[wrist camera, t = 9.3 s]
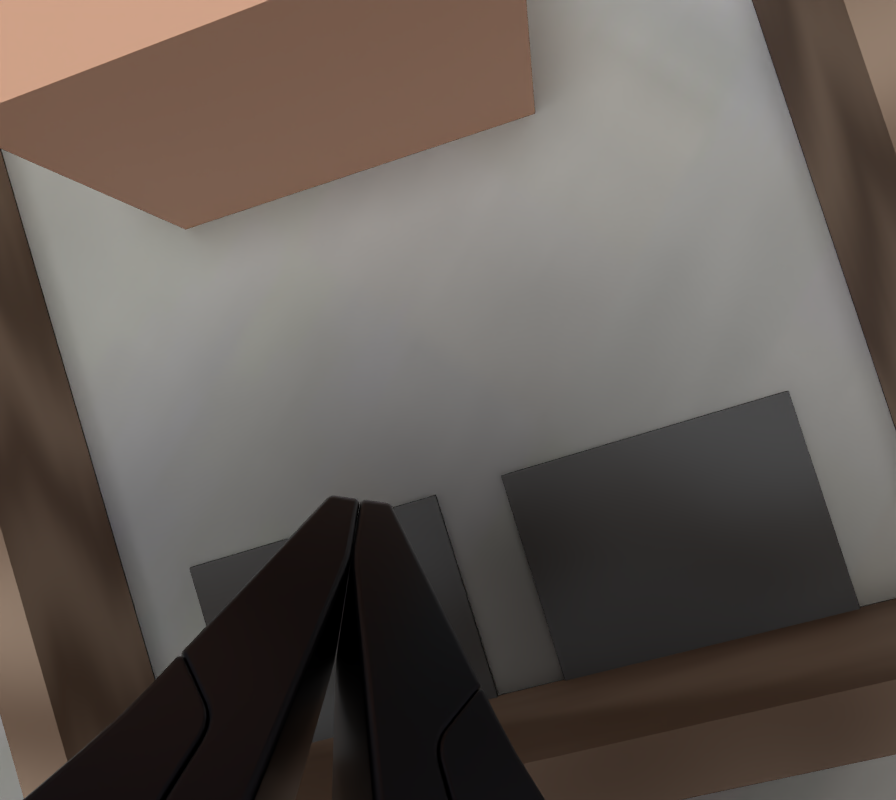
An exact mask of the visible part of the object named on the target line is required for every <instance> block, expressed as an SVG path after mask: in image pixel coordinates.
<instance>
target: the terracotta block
mask: <svg viewBox="0 0 896 800" xmlns="http://www.w3.org/2000/svg"><path fill="white" fill-rule="evenodd" d="M532 114H535V107H534V94H533V81H532V68H531V55H530V42H529V30H528V17H527V4H526V0H0V148H1V149H3V150H5V151H8V152H10V153H12V154H15V155H17V156H19V157H21V158H24V159H26V160H28V161H31V162H33V163H35V164H37V165H40V166H42V167H44V168H47V169H49V170H51V171H53V172H56V173H58V174H60V175H63V176H65V177H67V178H69V179H72V180H74V181H76V182H79V183H81V184H83V185H85V186H88V187H90V188H92V189H95V190H97V191H99V192H101V193H104V194H106V195H108V196H111V197H113V198H115V199H117V200H120V201H122V202H124V203H127V204H129V205H131V206H133V207H136V208H138V209H140V210H143V211H145V212H147V213H149V214H152V215H154V216H156V217H159V218H161V219H163V220H165V221H168V222H170V223H172V224H175V225H177V226H179V227H181V228H184V229H188V228H191V227H194V226H197V225H200V224H203V223H206V222H209V221H212V220H215V219H218V218H221V217H224V216H227V215H230V214H233V213H237V212H240V211H243V210H246V209H249V208H252V207H255V206H258V205H261V204H264V203H267V202H270V201H273V200H276V199H279V198H282V197H285V196H288V195H291V194H294V193H297V192H300V191H303V190H306V189H309V188H312V187H315V186H318V185H321V184H324V183H327V182H330V181H333V180H336V179H339V178H342V177H345V176H348V175H351V174H354V173H357V172H360V171H363V170H366V169H369V168H372V167H375V166H378V165H381V164H384V163H387V162H390V161H393V160H396V159H399V158H402V157H405V156H408V155H411V154H414V153H417V152H420V151H423V150H426V149H429V148H432V147H435V146H438V145H441V144H444V143H447V142H450V141H453V140H457V139H460V138H463V137H466V136H469V135H472V134H475V133H478V132H481V131H484V130H487V129H490V128H493V127H496V126H499V125H502V124H505V123H508V122H511V121H514V120H517V119H520V118H523V117H526V116H529V115H532Z"/></svg>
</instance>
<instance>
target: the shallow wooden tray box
mask: <svg viewBox="0 0 896 800" xmlns="http://www.w3.org/2000/svg"><path fill="white" fill-rule="evenodd" d="M752 1H753V4H754V7H755V10H756V13H757V16H758V19H759V22H760V25H761V28H762V31H763V34H764V37H765V40H766V42H767V45H768V48H769V51H770V54H771V57H772V60H773V63H774V66H775V69H776V72H777V75H778V78H779V81H780V84H781V87H782V90H783V93H784V96H785V99H786V102H787V105H788V108H789V111H790V114H791V117H792V120H793V123H794V126H795V129H796V132H797V135H798V138H799V141H800V144H801V147H802V150H803V153H804V156H805V159H806V162H807V165H808V168H809V171H810V174H811V177H812V180H813V183H814V186H815V189H816V192H817V195H818V198H819V201H820V204H821V207H822V210H823V213H824V216H825V219H826V222H827V225H828V228H829V231H830V234H831V237H832V240H833V243H834V246H835V249H836V252H837V254H838V257H839V260H840V263H841V266H842V269H843V272H844V275H845V278H846V281H847V284H848V287H849V290H850V293H851V296H852V299H853V302H854V305H855V308H856V311H857V314H858V317H859V320H860V323H861V326H862V329H863V332H864V335H865V338H866V341H867V344H868V347H869V350H870V353H871V356H872V359H873V362H874V365H875V368H876V371H877V374H878V377H879V380H880V383H881V386H882V389H883V392H884V395H885V398H886V401H887V404H888V407H889V410H890V413H891V416H892V419H893V422H894V425H895V428H896V0H752ZM501 477H502V480H503V483H504V486H505V489H506V493H507V496H508V499H509V502H510V505H511V509H512V512H513V515H514V518H515V521H516V525H517V528H518V531H519V534H520V537H521V541H522V544H523V547H524V550H525V553H526V557H527V560H528V563H529V566H530V569H531V572H532V576H533V579H534V582H535V585H536V588H537V592H538V595H539V598H540V601H541V604H542V608H543V611H544V614H545V617H546V620H547V624H548V627H549V630H550V633H551V636H552V640H553V643H554V646H555V649H556V652H557V656H558V659H559V662H560V665H561V668H562V671H563V675H564V678H565V680H561V681H557V682H553V683H548V684H544V685H540V686H536V687H532V688H528V689H524V690H520V691H516V692H512V693H507V694H503V695H499V696H498V695H497V692H496V689H495V685H494V682H493V679H492V676H491V672H490V669H489V666H488V663H487V659H486V656H485V653H484V650H483V646H482V643H481V640H480V637H479V634H478V630H477V627H476V624H475V621H474V617H473V614H472V611H471V608H470V604H469V601H468V598H467V595H466V592H465V588H464V585H463V582H462V579H461V575H460V572H459V569H458V566H457V562H456V559H455V556H454V553H453V550H452V546H451V543H450V540H449V537H448V533H447V530H446V527H445V524H444V520H443V517H442V514H441V511H440V507H439V504H438V501H437V498H436V495H434V496H431V497H427V498H424V499H420V500H417V501H414V502H410V503H407V504H404V505H400V506H397V507H393V510H394V512H395V514H396V516H397V518H398V520H399V522H400V524H401V526H402V528H403V530H404V532H405V534H406V536H407V538H408V540H409V542H410V544H411V546H412V548H413V550H414V552H415V554H416V556H417V558H418V560H419V562H420V564H421V566H422V568H423V570H424V572H425V574H426V576H427V578H428V580H429V582H430V584H431V586H432V588H433V590H434V592H435V594H436V596H437V598H438V600H439V602H440V604H441V606H442V608H443V610H444V612H445V614H446V616H447V618H448V620H449V622H450V624H451V626H452V628H453V630H454V632H455V634H456V636H457V638H458V640H459V642H460V644H461V646H462V648H463V650H464V652H465V654H466V656H467V658H468V660H469V662H470V664H471V666H472V668H473V670H474V672H475V674H476V677H477V679H478V681H479V683H480V685H481V688H480V690H483V691H484V692H485V694H486V696H487V698H488V700H489V702H490V704H491V706H492V708H493V710H494V712H495V714H496V716H497V718H498V720H499V722H500V724H501V726H502V727H503V729H504V731H505V733H506V735H507V737H508V739H509V740H510V742H511V744H512V746H513V748H514V750H515V752H516V753H517V755H518V757H519V758H520V760H521V762H522V763H523V765H524V766H525V768H526V770H527V771H528V773H529V774H530V776H531V778H532V779H533V781H534V783H535V784H536V786H537V787H538V789H539V791H540V792H541V794H542V795H543V797H544V799H545V800H682V799H686V798H691V797H696V796H701V795H705V794H710V793H715V792H720V791H724V790H729V789H734V788H739V787H743V786H748V785H753V784H757V783H762V782H767V781H772V780H776V779H781V778H786V777H791V776H795V775H800V774H805V773H810V772H814V771H819V770H824V769H829V768H833V767H838V766H843V765H848V764H852V763H857V762H862V761H866V760H871V759H876V758H881V757H885V756H890V755H895V754H896V599H892V600H888V601H884V602H880V603H876V604H872V605H868V606H864V607H860V606H859V603H858V600H857V597H856V594H855V591H854V588H853V585H852V582H851V579H850V576H849V573H848V570H847V567H846V564H845V561H844V558H843V555H842V552H841V549H840V546H839V543H838V540H837V537H836V534H835V531H834V528H833V524H832V521H831V518H830V515H829V512H828V509H827V506H826V503H825V500H824V497H823V494H822V491H821V488H820V485H819V482H818V479H817V476H816V473H815V470H814V467H813V464H812V461H811V458H810V455H809V452H808V449H807V446H806V443H805V440H804V437H803V434H802V431H801V427H800V424H799V421H798V418H797V415H796V412H795V409H794V406H793V403H792V400H791V397H790V394H789V391H786V392H782V393H779V394H775V395H772V396H769V397H765V398H762V399H759V400H755V401H752V402H748V403H745V404H742V405H738V406H735V407H732V408H728V409H725V410H721V411H718V412H715V413H711V414H708V415H704V416H701V417H698V418H694V419H691V420H688V421H684V422H681V423H677V424H674V425H671V426H667V427H664V428H661V429H657V430H654V431H650V432H647V433H644V434H640V435H637V436H633V437H630V438H627V439H623V440H620V441H617V442H613V443H610V444H606V445H603V446H600V447H596V448H593V449H590V450H586V451H583V452H579V453H576V454H573V455H569V456H566V457H562V458H559V459H556V460H552V461H549V462H546V463H542V464H539V465H535V466H532V467H529V468H525V469H522V470H519V471H515V472H512V473H508V474H505V475H502V476H501ZM357 519H358V518H357ZM356 526H357V524H356ZM355 532H356V530H355ZM354 538H355V537H354ZM287 540H288V539H285V540H282V541H278V542H275V543H272V544H268V545H265V546H262V547H258V548H255V549H251V550H248V551H245V552H241V553H238V554H235V555H231V556H228V557H224V558H221V559H218V560H214V561H211V562H207V563H204V564H201V565H197V566H194V567H191V568H190V572H191V575H192V578H193V582H194V585H195V589H196V592H197V595H198V599H199V602H200V606H201V609H202V612H203V616H204V619H205V622H206V626H207V625H208V624H209V623H210V622H211V621H212V620H213V619H214V618H215V617H216V616H217V615H218V614H219V612H220V611H221V610H222V609H223V608H224V607H225V606H226V605H227V604H228V603H229V602H230V601H231V600H232V599H233V598H234V597H235V595H236V594H237V593H238V592H239V591H240V590H241V589H242V588H243V587H244V586H245V585H246V584H247V583H248V582H249V581H250V580H251V579H252V577H253V576H254V575H255V574H256V573H257V572H258V571H259V570H260V569H261V568H262V567H263V566H264V565H265V564H266V563H267V562H268V560H269V559H270V558H271V557H272V556H273V555H274V554H275V553H276V552H277V551H278V550H279V549H280V548H281V547H282V546H283V545H284V544H285V542H286V541H287ZM352 551H353V550H352ZM350 564H351V563H350ZM349 570H350V569H349ZM348 577H349V576H348ZM347 583H348V582H347ZM346 590H347V588H346ZM345 596H346V595H345ZM344 603H345V601H344ZM343 609H344V607H343ZM342 616H343V613H342ZM341 622H342V620H341ZM340 629H341V626H340ZM339 635H340V632H339ZM338 642H339V639H338ZM337 649H338V645H337ZM336 657H337V650H336V656H335V661H334V665H333V669H332V673H331V677H330V681H329V684H328V688H327V691H326V695H325V698H324V701H323V705H322V708H321V712H320V715H319V719H318V722H317V726H316V729H315V733H314V736H313V740H312V743H311V747H310V750H309V754H308V757H307V761H306V764H305V768H304V771H303V775H302V778H301V782H300V785H299V789H298V792H297V796H296V799H295V800H332V775H333V736H334V698H335V670H336ZM154 681H155V679H154V675H153V672H152V668H151V665H150V662H149V658H148V655H147V651H146V648H145V644H144V641H143V638H142V634H141V631H140V627H139V624H138V620H137V617H136V614H135V610H134V607H133V603H132V600H131V596H130V593H129V590H128V586H127V583H126V579H125V576H124V572H123V569H122V566H121V562H120V559H119V555H118V552H117V548H116V545H115V542H114V538H113V535H112V531H111V528H110V524H109V521H108V518H107V514H106V511H105V507H104V504H103V500H102V497H101V494H100V490H99V487H98V483H97V480H96V476H95V473H94V470H93V466H92V463H91V459H90V456H89V452H88V449H87V446H86V442H85V439H84V435H83V432H82V428H81V425H80V422H79V418H78V415H77V411H76V408H75V404H74V401H73V398H72V394H71V391H70V387H69V384H68V380H67V377H66V374H65V370H64V367H63V363H62V360H61V356H60V353H59V350H58V346H57V343H56V339H55V336H54V332H53V329H52V326H51V322H50V319H49V315H48V312H47V308H46V305H45V302H44V298H43V295H42V291H41V288H40V284H39V281H38V278H37V274H36V271H35V267H34V264H33V260H32V257H31V254H30V250H29V247H28V243H27V240H26V236H25V233H24V230H23V226H22V223H21V219H20V216H19V212H18V209H17V206H16V202H15V199H14V195H13V192H12V188H11V185H10V182H9V178H8V175H7V171H6V168H5V164H4V161H3V158H2V154H1V151H0V715H1V719H2V722H3V726H4V729H5V733H6V736H7V740H8V743H9V747H10V750H11V754H12V758H13V761H14V765H15V768H16V772H17V775H18V779H19V782H20V786H21V789H22V793H23V796H24V798H25V797H27V796H28V795H29V794H30V793H31V792H32V791H34V790H35V789H36V788H37V787H38V786H40V785H41V784H42V783H43V782H44V781H45V780H47V779H48V778H49V777H50V776H51V775H52V774H54V773H55V772H56V771H57V770H58V769H59V768H61V767H62V766H63V765H64V764H65V763H66V762H68V761H69V760H70V759H71V758H72V757H74V756H75V755H76V754H77V753H78V752H79V751H80V750H82V749H83V748H84V747H85V746H86V745H87V744H88V743H89V742H91V741H92V740H93V739H94V738H95V737H96V736H97V735H98V734H100V733H101V732H102V731H103V730H104V729H105V728H106V727H107V726H109V725H110V724H111V723H112V722H113V721H114V720H115V719H116V718H117V717H119V716H120V715H121V714H122V713H123V712H124V711H125V710H126V709H127V708H128V707H129V706H130V705H131V704H132V703H133V702H134V701H135V700H136V699H137V698H138V697H139V696H140V695H141V694H142V693H143V692H144V691H145V690H146V689H147V688H148V687H149V686H150V685H151V684H152V683H153V682H154Z"/></svg>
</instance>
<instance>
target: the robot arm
mask: <svg viewBox="0 0 896 800" xmlns="http://www.w3.org/2000/svg"><path fill="white" fill-rule="evenodd" d="M358 511H359V513H358ZM357 517H358V519H357ZM356 524H357V526H356ZM355 530H356V532H355ZM354 537H355V538H354ZM352 550H353V551H352ZM350 563H351V564H350ZM349 569H350V570H349ZM348 576H349V577H348ZM347 582H348V583H347ZM346 588H347V590H346ZM345 595H346V596H345ZM344 601H345V603H344ZM343 607H344V609H343ZM342 613H343V616H342ZM341 620H342V622H341ZM340 626H341V629H340ZM339 632H340V635H339ZM338 639H339V642H338ZM337 645H338V649H337ZM336 650H337V657H336V670H335V698H334V736H333V775H332V800H545V799H544V797H543V795H542V794H541V792H540V791H539V789H538V787H537V786H536V784H535V783H534V781H533V779H532V778H531V776H530V774H529V773H528V771H527V770H526V768H525V766H524V765H523V763H522V762H521V760H520V758H519V757H518V755H517V753H516V752H515V750H514V748H513V746H512V744H511V742H510V740H509V739H508V737H507V735H506V733H505V731H504V729H503V727H502V726H501V724H500V722H499V720H498V718H497V716H496V714H495V712H494V710H493V708H492V706H491V704H490V702H489V700H488V698H487V696H486V694H485V692H484V691H483V690H480V688H481V685H480V683H479V681H478V679H477V677H476V674H475V672H474V670H473V668H472V666H471V664H470V662H469V660H468V658H467V656H466V654H465V652H464V650H463V648H462V646H461V644H460V642H459V640H458V638H457V636H456V634H455V632H454V630H453V628H452V626H451V624H450V622H449V620H448V618H447V616H446V614H445V612H444V610H443V608H442V606H441V604H440V602H439V600H438V598H437V596H436V594H435V592H434V590H433V588H432V586H431V584H430V582H429V580H428V578H427V576H426V574H425V572H424V570H423V568H422V566H421V564H420V562H419V560H418V558H417V556H416V554H415V552H414V550H413V548H412V546H411V544H410V542H409V540H408V538H407V536H406V534H405V532H404V530H403V528H402V526H401V524H400V522H399V520H398V518H397V516H396V514H395V512H394V510H393V508H392V506H391V505H390V504H388V503H384V502H377V501H369V500H364V501H362V502H361V503H360V507H359V501H358V500H357V499H355V498H348V497H341V496H330V497H328V498H327V499H326V500H325V501H324V502H323V503H322V504H321V505H320V506H319V507H318V508H317V510H316V511H315V512H314V513H313V514H312V515H311V516H310V517H309V518H308V519H307V520H306V521H305V522H304V523H303V524H302V525H301V527H300V528H299V529H298V530H297V531H296V532H295V533H294V534H293V535H292V536H291V537H290V538H289V539H288V540H287V541H286V542H285V544H284V545H283V546H282V547H281V548H280V549H279V550H278V551H277V552H276V553H275V554H274V555H273V556H272V557H271V558H270V559H269V560H268V562H267V563H266V564H265V565H264V566H263V567H262V568H261V569H260V570H259V571H258V572H257V573H256V574H255V575H254V576H253V577H252V579H251V580H250V581H249V582H248V583H247V584H246V585H245V586H244V587H243V588H242V589H241V590H240V591H239V592H238V593H237V594H236V595H235V597H234V598H233V599H232V600H231V601H230V602H229V603H228V604H227V605H226V606H225V607H224V608H223V609H222V610H221V611H220V612H219V614H218V615H217V616H216V617H215V618H214V619H213V620H212V621H211V622H210V623H209V624H208V625H207V626H206V627H205V628H204V629H203V630H202V632H201V633H200V634H199V635H198V636H197V637H196V638H195V639H194V640H193V641H192V642H191V643H190V644H189V645H188V646H187V647H186V649H185V650H184V651H183V652H182V656H179V657H177V658H176V659H175V660H174V661H173V662H172V663H171V664H170V665H169V666H168V667H167V668H166V669H165V670H164V671H163V673H162V674H161V675H160V676H159V677H158V678H157V679H156V680H155V681H154V682H153V683H152V684H151V685H150V686H149V687H148V688H147V689H146V690H145V691H144V692H143V693H142V694H141V695H140V696H139V697H138V698H137V699H136V700H135V701H134V702H133V703H132V704H131V705H130V706H129V707H128V708H127V709H126V710H125V711H124V712H123V713H122V714H121V715H120V716H119V717H117V718H116V719H115V720H114V721H113V722H112V723H111V724H110V725H109V726H107V727H106V728H105V729H104V730H103V731H102V732H101V733H100V734H98V735H97V736H96V737H95V738H94V739H93V740H92V741H91V742H89V743H88V744H87V745H86V746H85V747H84V748H83V749H82V750H80V751H79V752H78V753H77V754H76V755H75V756H74V757H72V758H71V759H70V760H69V761H68V762H66V763H65V764H64V765H63V766H62V767H61V768H59V769H58V770H57V771H56V772H55V773H54V774H52V775H51V776H50V777H49V778H48V779H47V780H45V781H44V782H43V783H42V784H41V785H40V786H38V787H37V788H36V789H35V790H34V791H32V792H31V793H30V794H29V795H28V796H27V797H25V798H24V799H23V800H295V799H296V796H297V792H298V789H299V785H300V782H301V778H302V775H303V771H304V768H305V764H306V761H307V757H308V754H309V750H310V747H311V743H312V740H313V736H314V733H315V729H316V726H317V722H318V719H319V715H320V712H321V708H322V705H323V701H324V698H325V695H326V691H327V688H328V684H329V681H330V677H331V673H332V669H333V665H334V661H335V656H336Z"/></svg>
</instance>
